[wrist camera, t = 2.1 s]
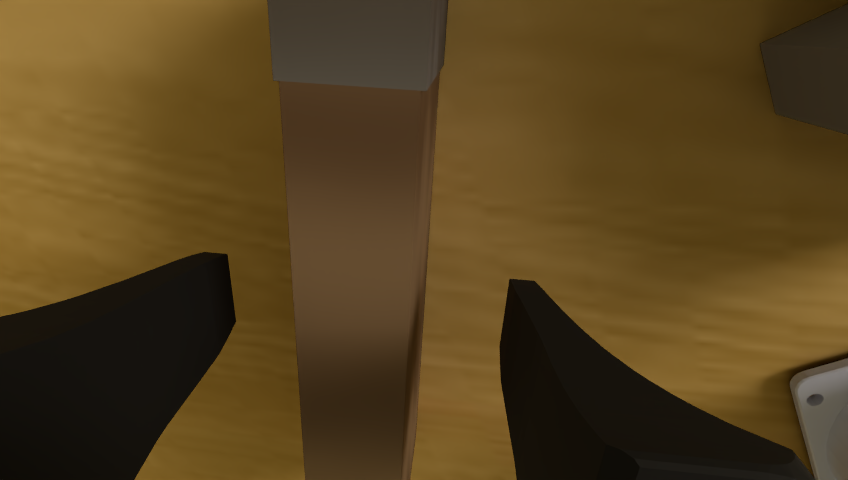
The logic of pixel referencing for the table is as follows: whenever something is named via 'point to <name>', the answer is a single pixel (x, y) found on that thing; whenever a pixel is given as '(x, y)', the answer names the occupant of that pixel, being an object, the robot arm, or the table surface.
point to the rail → (358, 219)
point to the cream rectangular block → (811, 71)
